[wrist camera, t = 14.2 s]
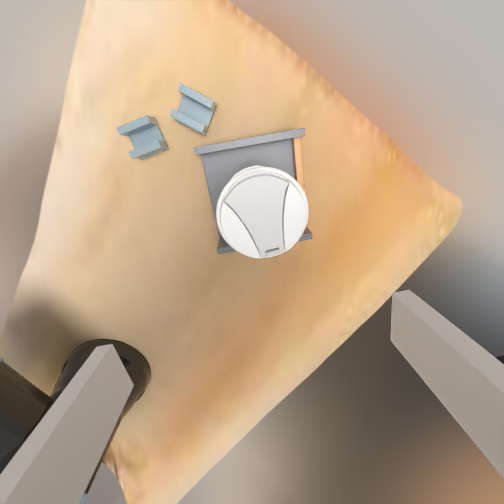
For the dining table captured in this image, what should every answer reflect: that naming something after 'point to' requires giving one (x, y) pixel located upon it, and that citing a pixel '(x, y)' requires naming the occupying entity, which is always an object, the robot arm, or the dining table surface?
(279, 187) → the coffee cup
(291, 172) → the end holder
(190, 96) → the clip
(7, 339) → the dining table surface
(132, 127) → the clip
